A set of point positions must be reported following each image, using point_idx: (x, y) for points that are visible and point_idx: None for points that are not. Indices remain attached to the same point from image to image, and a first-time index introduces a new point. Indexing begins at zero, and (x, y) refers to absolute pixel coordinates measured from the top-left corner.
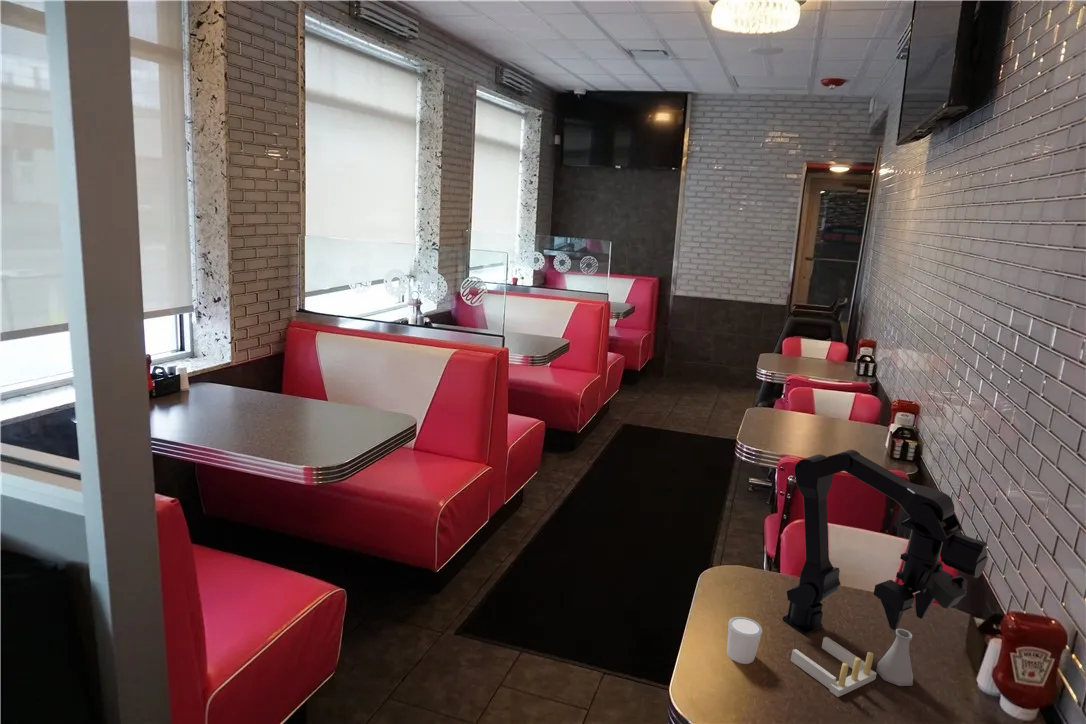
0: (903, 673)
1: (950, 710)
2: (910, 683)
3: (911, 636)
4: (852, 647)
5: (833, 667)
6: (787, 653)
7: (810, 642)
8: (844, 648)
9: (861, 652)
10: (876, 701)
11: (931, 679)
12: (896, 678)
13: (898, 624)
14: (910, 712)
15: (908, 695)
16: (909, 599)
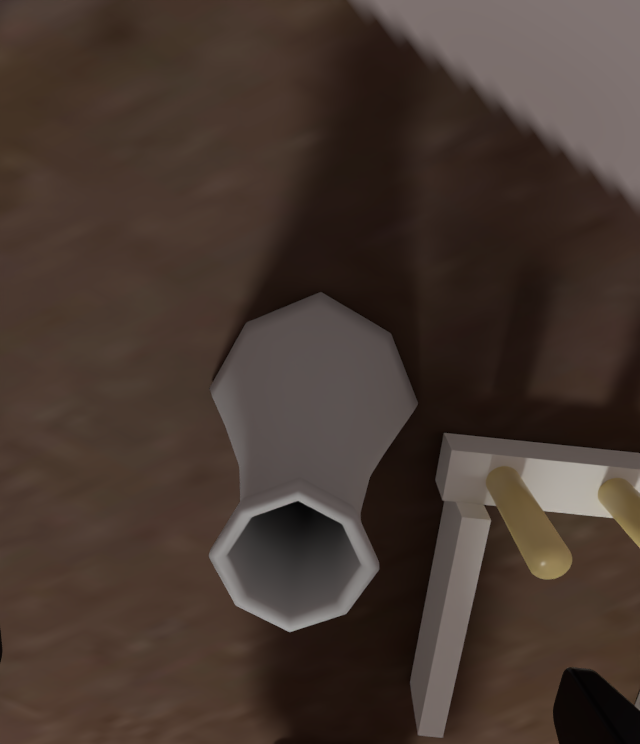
0: (359, 356)
1: (331, 41)
2: (330, 303)
3: (277, 503)
4: None
5: (533, 587)
6: None
7: None
8: (436, 644)
9: None
10: (627, 339)
11: (148, 259)
12: (390, 365)
13: (619, 737)
14: (564, 181)
15: (418, 264)
16: None
